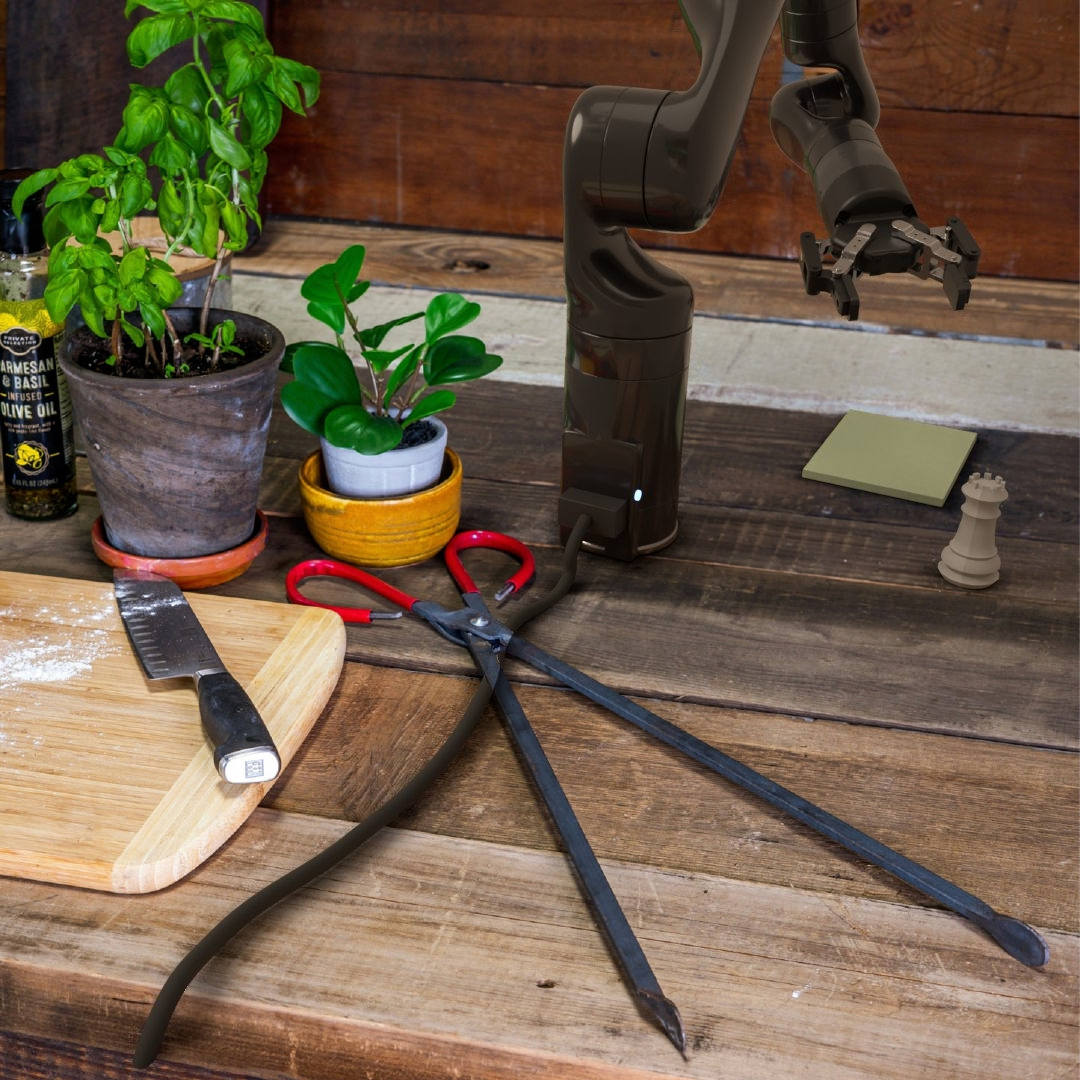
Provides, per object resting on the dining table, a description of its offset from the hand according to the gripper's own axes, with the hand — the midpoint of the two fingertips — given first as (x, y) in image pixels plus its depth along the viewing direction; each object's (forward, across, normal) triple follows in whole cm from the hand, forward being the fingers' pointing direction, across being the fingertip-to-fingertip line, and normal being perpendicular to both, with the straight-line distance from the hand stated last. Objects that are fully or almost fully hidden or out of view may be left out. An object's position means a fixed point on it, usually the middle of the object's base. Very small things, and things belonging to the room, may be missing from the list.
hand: (908, 307), depth 101 cm
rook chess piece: (+20, +1, +10) cm, 23 cm away
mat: (0, +1, +17) cm, 17 cm away
